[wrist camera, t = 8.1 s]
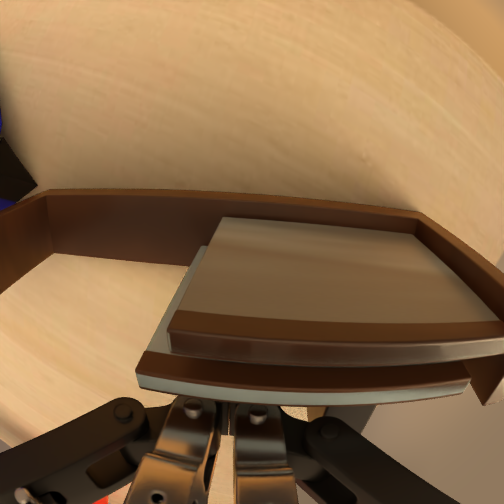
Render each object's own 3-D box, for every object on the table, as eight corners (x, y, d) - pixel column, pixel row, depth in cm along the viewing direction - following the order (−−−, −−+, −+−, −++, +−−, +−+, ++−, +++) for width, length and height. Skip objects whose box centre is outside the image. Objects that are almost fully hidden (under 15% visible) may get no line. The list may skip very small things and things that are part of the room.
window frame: (407, 270, 16) (501, 401, 6) (56, 242, 16) (-57, 331, 7) (421, 212, 14) (551, 316, 5) (49, 189, 15) (-84, 256, 6)
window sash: (369, 329, 15) (415, 456, 8) (202, 319, 15) (159, 453, 8) (389, 258, 13) (473, 377, 6) (200, 243, 14) (133, 370, 6)
